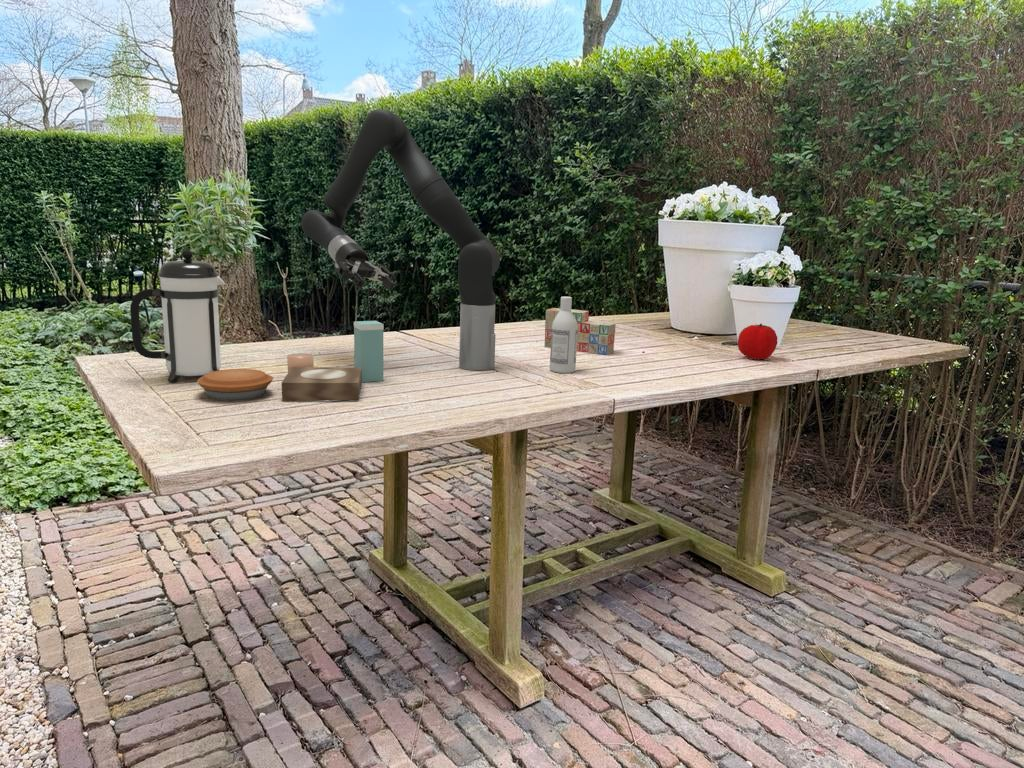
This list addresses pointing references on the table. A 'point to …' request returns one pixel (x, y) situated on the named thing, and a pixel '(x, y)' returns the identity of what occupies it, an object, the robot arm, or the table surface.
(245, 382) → the pie
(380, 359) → the carton
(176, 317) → the coffee press
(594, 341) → the stack of blocks
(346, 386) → the tissue box
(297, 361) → the beige block
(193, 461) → the table surface
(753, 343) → the tomato
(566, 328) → the bath foam
